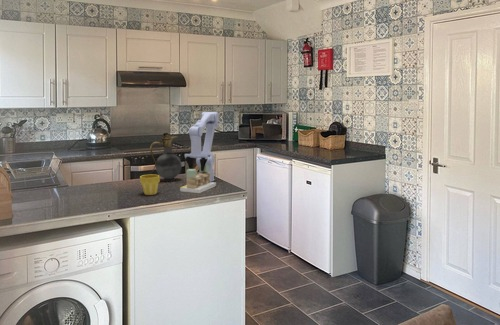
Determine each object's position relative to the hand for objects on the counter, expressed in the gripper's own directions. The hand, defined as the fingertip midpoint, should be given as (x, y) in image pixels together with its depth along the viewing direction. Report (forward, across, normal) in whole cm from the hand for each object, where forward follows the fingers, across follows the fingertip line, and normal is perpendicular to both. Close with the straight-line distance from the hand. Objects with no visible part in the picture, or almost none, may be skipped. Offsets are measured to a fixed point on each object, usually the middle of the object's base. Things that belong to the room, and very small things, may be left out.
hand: (196, 170), depth 247 cm
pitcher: (+10, -25, +6) cm, 28 cm away
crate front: (+1, +4, -12) cm, 12 cm away
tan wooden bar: (+7, +4, -5) cm, 10 cm away
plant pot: (+10, -14, -26) cm, 31 cm away
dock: (+9, +4, -5) cm, 11 cm away
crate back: (+1, +3, +3) cm, 5 cm away
